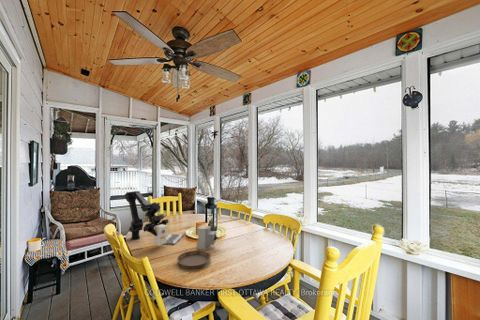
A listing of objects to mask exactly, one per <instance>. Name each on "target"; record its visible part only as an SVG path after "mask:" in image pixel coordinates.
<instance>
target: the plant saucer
mask: <svg viewBox="0 0 480 320" xmlns="http://www.w3.org/2000/svg"><path fill="white" fill-rule="evenodd" d="M210 260H211V255H210V253H208V252H207V251H203V250H190V251H186V252H183V253H181V254H180V255H178V256H177V260H176V261H177V263H178V264H179V265H180V266H181V267H183V268H185V269H198V268H202V267H204V266H206V265H207V264H208V263H209V261H210Z"/></svg>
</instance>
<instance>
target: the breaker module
mask: <svg viewBox="0 0 480 320" xmlns="http://www.w3.org/2000/svg"><path fill="white" fill-rule="evenodd" d="M154 230H155V232H156V234H157V236H155V235H153V244H154V245H156V246H161V245H166V244H165V243H166V237H167V236H168V235H167V233H168V225H167V224H166V225H163V224H161V225H156V226H155V227H154Z"/></svg>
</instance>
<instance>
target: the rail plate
mask: <svg viewBox="0 0 480 320" xmlns="http://www.w3.org/2000/svg"><path fill="white" fill-rule="evenodd" d="M184 236H185V235H184V233H179V234H173V232H171V233H169V234H168V235H166V243H165V244H164V245H173V246H175V245H176V244H177V243H178V242H179V241H180V240H182V239H183V237H184Z"/></svg>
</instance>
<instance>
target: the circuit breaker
mask: <svg viewBox="0 0 480 320" xmlns="http://www.w3.org/2000/svg"><path fill="white" fill-rule="evenodd" d="M196 229H197V230H196V235H197V241H196V249H197V250H206V251H207V250H208V249H209V248H211V246H215V245H214V244H215V243H216V242H217V239H218V236H217V231H215V230H213V231H212V226H211V225H201V224H200V226H198V227H197V228H196Z"/></svg>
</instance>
